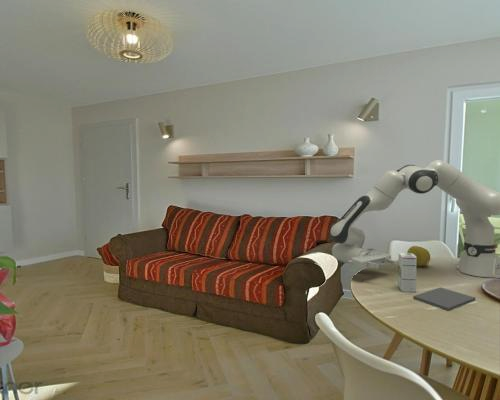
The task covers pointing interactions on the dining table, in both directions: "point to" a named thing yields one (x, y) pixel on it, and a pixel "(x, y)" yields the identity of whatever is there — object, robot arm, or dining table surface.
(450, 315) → the dining table surface
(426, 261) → the fruit
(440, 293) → the placemat
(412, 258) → the syrup box
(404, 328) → the dining table surface
